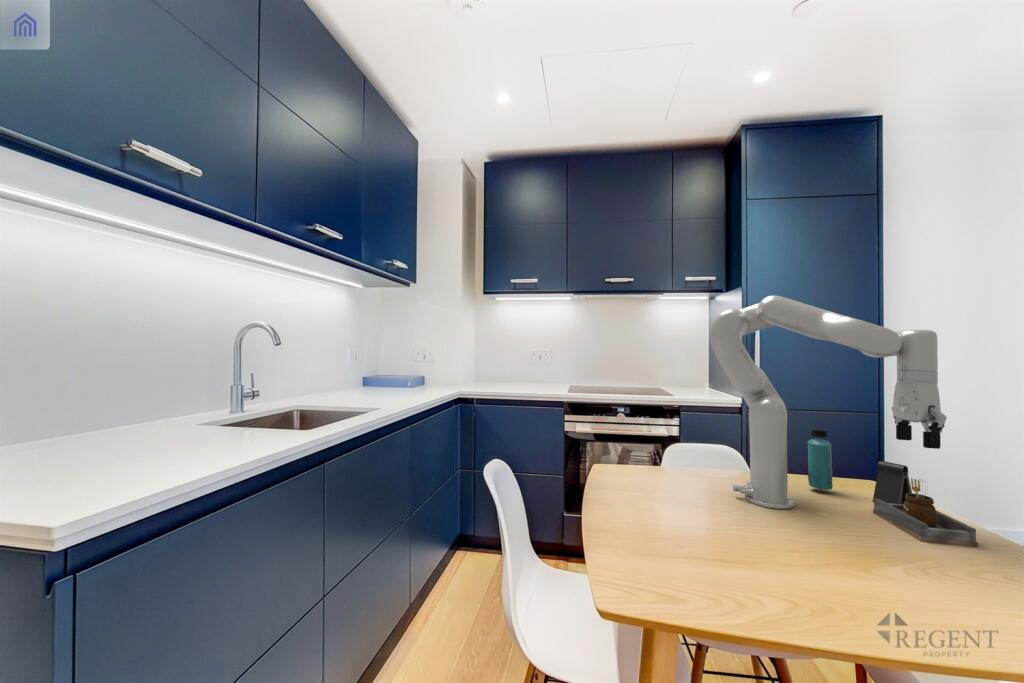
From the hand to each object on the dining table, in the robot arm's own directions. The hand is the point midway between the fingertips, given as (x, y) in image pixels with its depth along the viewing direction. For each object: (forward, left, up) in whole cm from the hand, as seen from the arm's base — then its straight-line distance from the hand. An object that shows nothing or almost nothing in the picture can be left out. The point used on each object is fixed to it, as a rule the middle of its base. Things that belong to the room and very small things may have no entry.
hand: (917, 443), depth 105 cm
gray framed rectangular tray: (0, 0, -22) cm, 22 cm away
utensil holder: (0, 0, -21) cm, 21 cm away
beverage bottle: (-11, +26, -22) cm, 35 cm away
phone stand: (+5, +19, -22) cm, 29 cm away
